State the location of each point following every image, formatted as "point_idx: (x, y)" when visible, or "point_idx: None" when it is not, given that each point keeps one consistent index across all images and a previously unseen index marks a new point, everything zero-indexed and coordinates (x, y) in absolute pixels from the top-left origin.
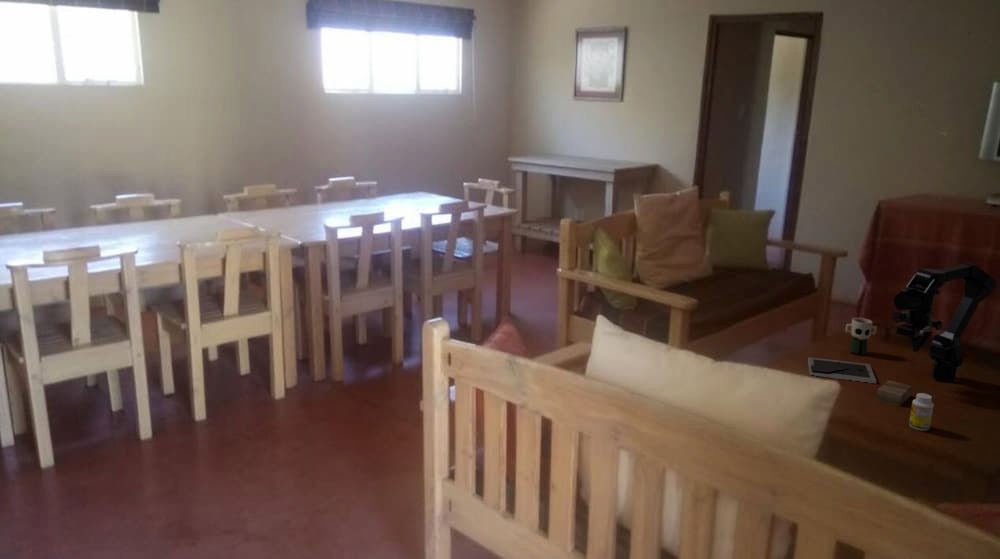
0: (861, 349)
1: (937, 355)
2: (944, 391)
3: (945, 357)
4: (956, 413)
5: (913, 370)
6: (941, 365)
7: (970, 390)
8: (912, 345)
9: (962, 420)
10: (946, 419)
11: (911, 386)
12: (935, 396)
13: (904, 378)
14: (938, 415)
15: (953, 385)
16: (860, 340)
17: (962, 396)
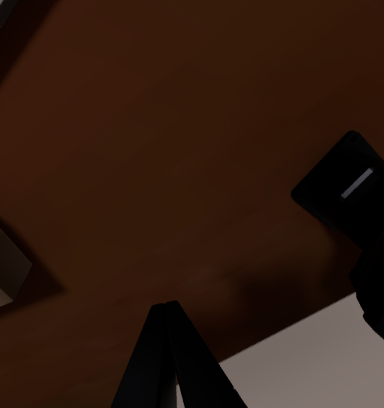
0: None
1: (380, 251)
2: (213, 266)
3: (360, 302)
4: (84, 373)
5: (347, 48)
6: (353, 227)
7: (300, 280)
8: (128, 363)
9: (60, 400)
10: (15, 393)
11: (13, 300)
12: (138, 286)
13: (193, 112)
14: (11, 376)
15: (300, 239)
16: None
17: (226, 304)
